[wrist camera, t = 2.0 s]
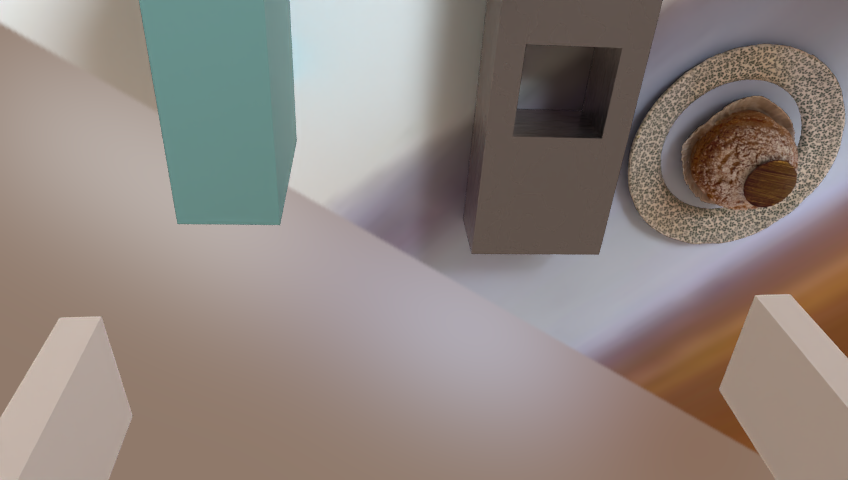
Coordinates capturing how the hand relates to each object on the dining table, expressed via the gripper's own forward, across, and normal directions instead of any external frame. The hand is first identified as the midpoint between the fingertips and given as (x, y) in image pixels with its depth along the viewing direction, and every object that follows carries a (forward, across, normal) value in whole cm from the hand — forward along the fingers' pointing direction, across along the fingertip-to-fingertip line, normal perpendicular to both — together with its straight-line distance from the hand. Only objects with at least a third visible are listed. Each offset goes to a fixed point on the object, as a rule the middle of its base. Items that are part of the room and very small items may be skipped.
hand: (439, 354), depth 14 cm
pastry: (+22, +19, -6) cm, 30 cm away
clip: (+22, -6, +3) cm, 23 cm away
